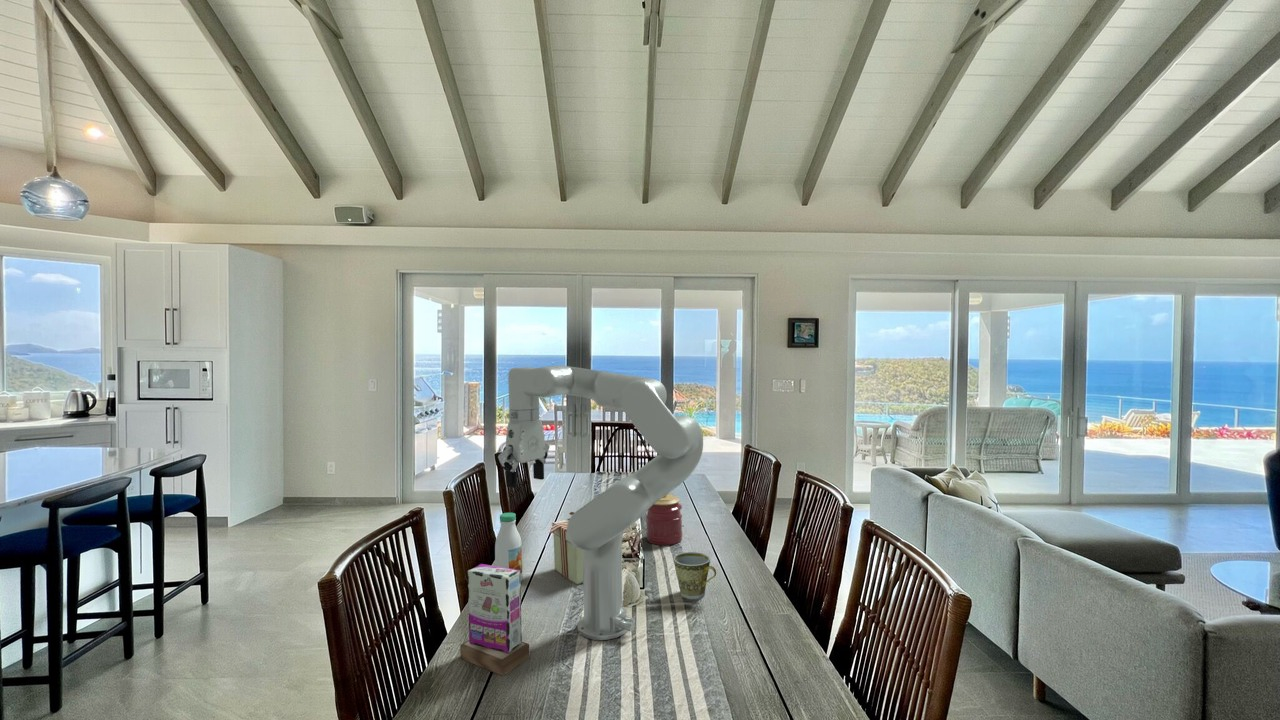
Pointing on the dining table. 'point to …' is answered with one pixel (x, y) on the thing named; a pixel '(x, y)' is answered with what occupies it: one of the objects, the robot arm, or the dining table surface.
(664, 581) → the dining table surface
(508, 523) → the milk bottle
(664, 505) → the canister
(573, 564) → the gift box
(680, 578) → the ceramic cup
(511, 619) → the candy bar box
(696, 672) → the dining table surface
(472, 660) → the walnut plinth
